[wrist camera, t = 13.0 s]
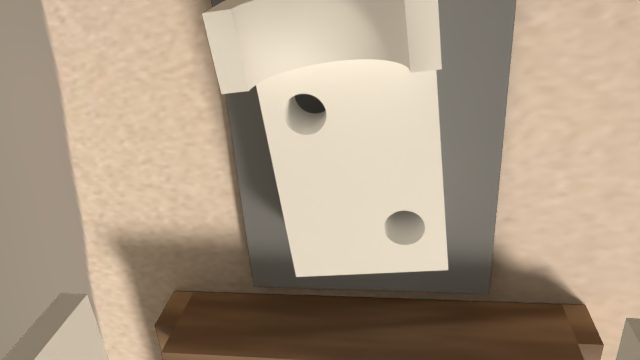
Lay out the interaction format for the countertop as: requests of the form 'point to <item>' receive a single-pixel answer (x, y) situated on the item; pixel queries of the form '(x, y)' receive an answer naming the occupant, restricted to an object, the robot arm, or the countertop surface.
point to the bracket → (345, 125)
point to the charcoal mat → (456, 150)
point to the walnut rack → (370, 329)
